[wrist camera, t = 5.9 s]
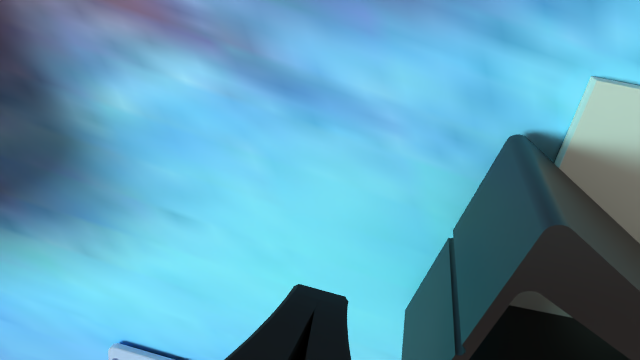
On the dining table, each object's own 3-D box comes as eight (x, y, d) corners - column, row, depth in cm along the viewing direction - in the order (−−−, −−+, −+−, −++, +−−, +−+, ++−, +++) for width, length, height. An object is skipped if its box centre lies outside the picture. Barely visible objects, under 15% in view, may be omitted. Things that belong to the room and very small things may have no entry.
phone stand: (552, 218, 11) (1074, 435, 10) (511, 130, 16) (854, 271, 16) (391, 445, 15) (757, 605, 14) (401, 316, 20) (669, 430, 20)
